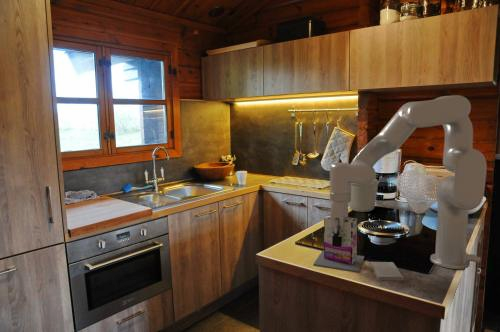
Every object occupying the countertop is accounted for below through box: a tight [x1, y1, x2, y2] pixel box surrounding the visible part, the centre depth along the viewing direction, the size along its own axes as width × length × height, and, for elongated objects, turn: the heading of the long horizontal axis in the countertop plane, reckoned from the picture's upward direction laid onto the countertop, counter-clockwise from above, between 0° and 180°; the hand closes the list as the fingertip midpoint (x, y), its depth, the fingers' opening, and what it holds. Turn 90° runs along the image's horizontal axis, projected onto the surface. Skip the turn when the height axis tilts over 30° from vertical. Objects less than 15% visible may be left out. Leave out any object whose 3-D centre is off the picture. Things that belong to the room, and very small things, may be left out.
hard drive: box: [370, 261, 405, 281], centre depth 127 cm, size 2×8×12 cm
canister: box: [348, 178, 380, 213], centre depth 204 cm, size 18×18×21 cm
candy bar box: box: [323, 213, 358, 265], centre depth 135 cm, size 11×5×16 cm, turn 53°
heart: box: [396, 170, 442, 215], centre depth 194 cm, size 28×16×22 cm, turn 10°
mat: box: [313, 249, 365, 273], centre depth 136 cm, size 16×14×1 cm
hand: (339, 241), depth 135 cm, fingers open, 9 cm apart
